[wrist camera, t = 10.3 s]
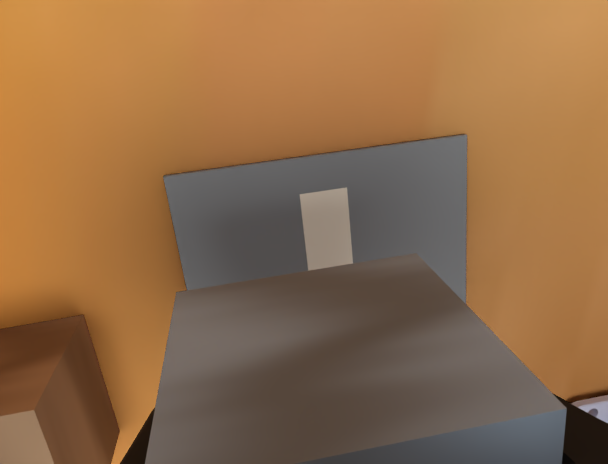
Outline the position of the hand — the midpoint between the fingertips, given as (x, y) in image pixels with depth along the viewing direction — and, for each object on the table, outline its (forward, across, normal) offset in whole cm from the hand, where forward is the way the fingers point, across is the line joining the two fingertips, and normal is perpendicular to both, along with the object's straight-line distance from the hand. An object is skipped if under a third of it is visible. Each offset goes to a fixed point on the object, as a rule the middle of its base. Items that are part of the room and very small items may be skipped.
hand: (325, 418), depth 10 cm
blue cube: (+1, 0, 0) cm, 1 cm away
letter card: (+8, -2, +2) cm, 9 cm away
